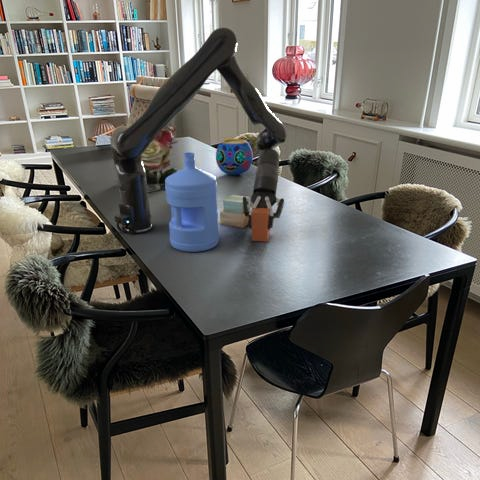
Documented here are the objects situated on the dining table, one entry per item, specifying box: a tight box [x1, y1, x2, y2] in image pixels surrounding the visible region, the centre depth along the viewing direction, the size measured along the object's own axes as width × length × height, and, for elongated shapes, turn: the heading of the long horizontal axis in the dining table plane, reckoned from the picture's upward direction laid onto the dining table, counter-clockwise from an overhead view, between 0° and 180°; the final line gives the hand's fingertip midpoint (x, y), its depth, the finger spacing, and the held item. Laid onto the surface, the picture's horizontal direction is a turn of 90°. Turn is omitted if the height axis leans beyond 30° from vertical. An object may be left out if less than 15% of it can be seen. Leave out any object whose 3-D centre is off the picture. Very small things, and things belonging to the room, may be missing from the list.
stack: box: [219, 194, 252, 229], centre depth 171 cm, size 9×9×8 cm
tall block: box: [251, 207, 271, 243], centre depth 157 cm, size 5×5×10 cm
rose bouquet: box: [139, 114, 179, 193], centre depth 209 cm, size 26×29×30 cm
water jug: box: [164, 151, 220, 253], centre depth 149 cm, size 16×16×28 cm
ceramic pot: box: [215, 138, 254, 176], centre depth 228 cm, size 18×18×15 cm
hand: (260, 228), depth 156 cm, fingers closed on tall block, 5 cm apart
